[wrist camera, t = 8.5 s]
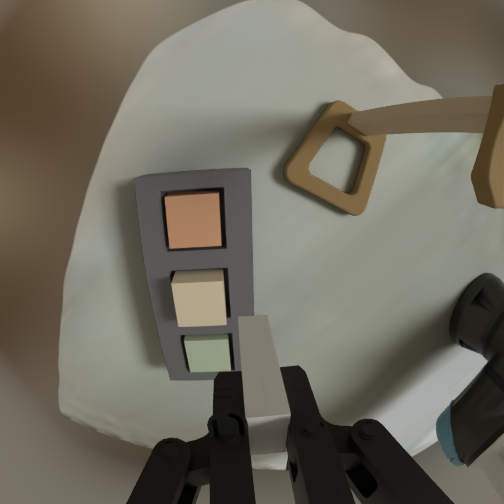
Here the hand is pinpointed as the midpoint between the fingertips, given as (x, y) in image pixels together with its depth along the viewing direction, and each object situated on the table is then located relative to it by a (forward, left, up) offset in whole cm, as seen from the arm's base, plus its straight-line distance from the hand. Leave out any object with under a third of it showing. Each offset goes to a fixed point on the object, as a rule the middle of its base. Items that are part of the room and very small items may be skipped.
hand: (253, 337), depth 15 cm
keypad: (+4, +5, -18) cm, 19 cm away
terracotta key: (+4, -3, -17) cm, 17 cm away
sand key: (+4, +5, -15) cm, 16 cm away
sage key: (+4, +13, -17) cm, 21 cm away
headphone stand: (-12, -9, -18) cm, 24 cm away
